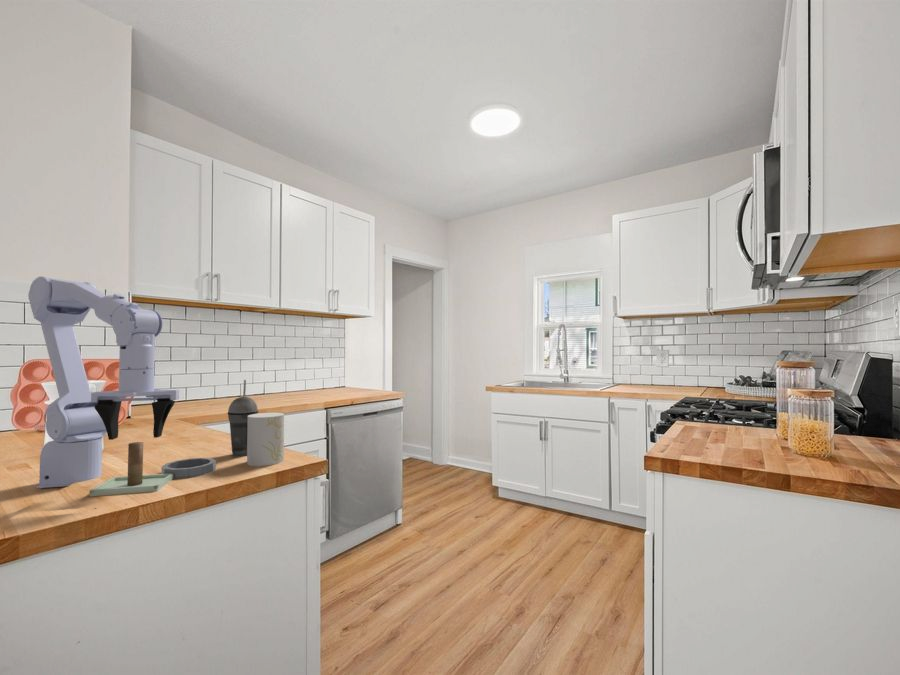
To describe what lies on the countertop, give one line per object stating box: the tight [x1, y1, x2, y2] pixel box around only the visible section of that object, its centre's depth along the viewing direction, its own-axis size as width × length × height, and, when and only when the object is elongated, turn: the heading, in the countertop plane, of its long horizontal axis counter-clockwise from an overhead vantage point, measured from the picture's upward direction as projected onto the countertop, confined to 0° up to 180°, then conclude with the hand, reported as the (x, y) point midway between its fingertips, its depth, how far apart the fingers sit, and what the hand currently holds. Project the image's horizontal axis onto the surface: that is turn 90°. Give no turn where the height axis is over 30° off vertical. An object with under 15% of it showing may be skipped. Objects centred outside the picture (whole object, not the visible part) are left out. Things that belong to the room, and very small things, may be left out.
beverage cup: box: [227, 379, 259, 457], centre depth 113 cm, size 7×7×20 cm
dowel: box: [127, 441, 144, 486], centre depth 86 cm, size 2×2×8 cm
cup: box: [246, 412, 285, 467], centre depth 105 cm, size 8×8×12 cm
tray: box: [89, 473, 174, 497], centre depth 86 cm, size 11×9×2 cm
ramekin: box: [160, 457, 217, 480], centre depth 96 cm, size 10×10×3 cm
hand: (135, 437), depth 86 cm, fingers open, 7 cm apart
